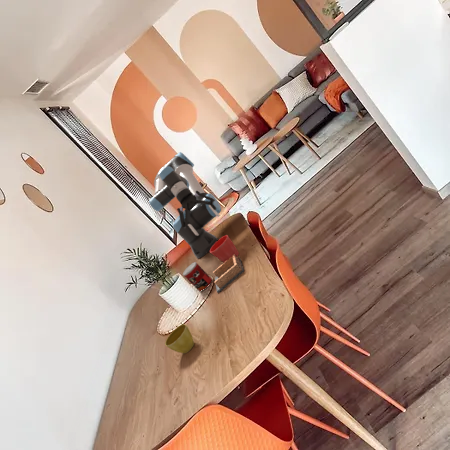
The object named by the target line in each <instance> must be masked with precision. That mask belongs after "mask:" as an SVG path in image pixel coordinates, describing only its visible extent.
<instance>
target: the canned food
mask: <svg viewBox="0 0 450 450" xmlns="http://www.w3.org/2000/svg"><path fill="white" fill-rule="evenodd" d="M182 275H183V276H184V278H185V279H186V280H187V281H188V282H189V283H190V285H192V286H193V287H194V288H195V289H196V290H197V291H198V292H200V291H201V290H203V289H205V288H206V287H207V286H208V285H209V284H210V283H212V282H213V279H212V278H211V276H210V275H209V274H208V273H207V272H206V271H205V270H204V269H203V268H202V267H201V266H200V265H199V264H198V262H196V261H195V262H192V263H191V264H190V265H188V266H187V267H186V268H185V270H184V271H183V273H182ZM211 281H212V282H211ZM210 285H211V284H210ZM210 285H209V286H210ZM209 286H208V287H209ZM208 287H207V288H208ZM207 288H206V289H207ZM206 289H205V290H206Z"/></svg>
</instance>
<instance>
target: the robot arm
mask: <svg viewBox="0 0 450 450" xmlns="http://www.w3.org/2000/svg"><path fill="white" fill-rule="evenodd" d="M194 166H195V164H194V162H192V161H191V160H190V159H189V158H188V157H187V156H186V154H184V153H183V152H181V151H180V152H178V153H177V154H175V155H174V156H173V157H172V158H171V159H170V160H168V162H166V163H165V164H164V165H163V166H162V167H160V169H159V170H158V172H157V173H156V175H155V178H154V180H153V186H154V195H153V196H152V197H151V198H150V199H149V200H148V203H149V205H150V207H151V208H152V209H153V210H154V211H157V212H159V211H161V210H162V209H164V207H166V206H167V205H168V204H170V202H172V200H173V199H175V198H176V200H177V201H178V202H179V203H180V205H181V206H180V207H178V208H177V209H176V210H177V212H178V216H177V217H176V219H175V220H174V221H173V224H172V228H173V229H174V231H175V232H176V233H177V234H178V235H179V236H180V237H181V238H182V239H183V240H184V241H185V243H187V244H188V245H189V247H190V248H191V251H192V253H193V254H194V256H195V257H196V259H200V258H202V257H204V256H205V255H207V254H208V253H210V249H211V247H212V246H213V245H214V244H215V243H216V242H217V240H219V239H218V238H217V236H216V235H214V234H212V233H210V232H208V231H207V230H205V228H204V227H205V226H206V225H207V224H209V223H211V221H212V220H214V219H215V218H216V217H220V216H221V215H220V213H221V211H222V207H221V204H220V203H219V201H218V199H217V198H216V197H215V195H213V194H212V193H208V192H206V191H204V189H203V186H201V184H200V182H199V180H198V179H197V177H196V176H195V174H194V169H193V168H194Z"/></svg>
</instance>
